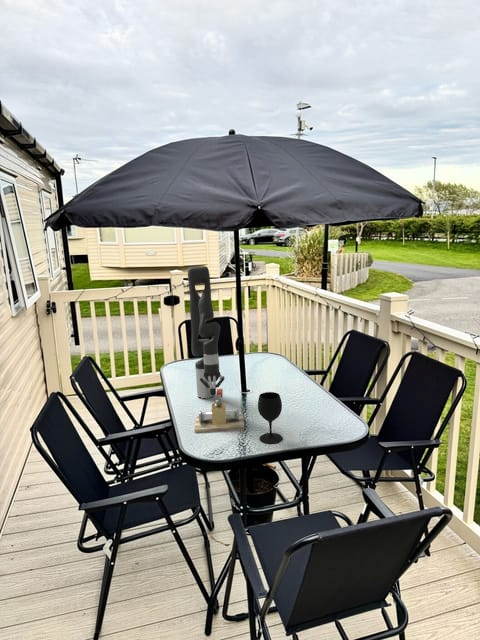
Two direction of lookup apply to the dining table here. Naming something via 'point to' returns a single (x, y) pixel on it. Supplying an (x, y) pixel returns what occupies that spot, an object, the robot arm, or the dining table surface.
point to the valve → (219, 415)
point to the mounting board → (219, 425)
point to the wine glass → (270, 415)
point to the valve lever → (219, 397)
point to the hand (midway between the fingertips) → (213, 395)
